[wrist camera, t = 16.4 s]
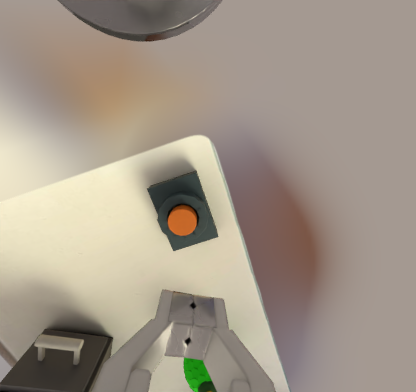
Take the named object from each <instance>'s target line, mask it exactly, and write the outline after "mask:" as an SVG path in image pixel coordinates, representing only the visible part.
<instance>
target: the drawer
mask: <svg viewBox="0 0 416 392" xmlns="http://www.w3.org/2000/svg"><path fill="white" fill-rule="evenodd" d="M107 340H108V337H103V336H95V335H87V334H80V333H72V332H64V331H56V330H49V329H45V330H44V331H43V332H42V334H41V335H39V336H38V338H37V339H36V341H35V342H34V343H33V344H32V345H31V347H30V348H29V349H28V350H27V351H26V353H25V354H24V355H23V356H22V357H21V359H20V360H19V361H18V362H17V363H16V364H15V366H14V367H13V368H12V369H11V370H10V372H9V373H8V374H7V375H6V377H5V378H4V379H3V380H2V381H1V382H0V391H8V392H84V391H85V389H86V387H87V384H88V382H89V380H90V378H91V376H92V374H93V372H94V369H95V367H96V365H97V363H98V361H99V359H100V357H101V355H102V352H103V350H104V348H105V346H106V344H107Z"/></svg>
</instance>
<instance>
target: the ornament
mask: <svg viewBox="0 0 416 392" xmlns="http://www.w3.org/2000/svg"><path fill="white" fill-rule="evenodd" d="M183 367H184V373H185V378H186V380H187V382H188V384H189V385H190V386H189V387H190V388H191V389H192V390H193V391H195V392H217V391H216V388H215V386H214V384H213V382H212V380H211V378H210V375H209V373H208V371H207V369H206V367H205V365H204V362H203V360H198V359H191V358H184V366H183Z"/></svg>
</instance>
